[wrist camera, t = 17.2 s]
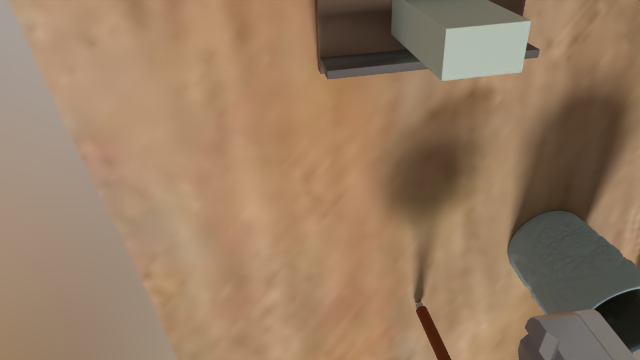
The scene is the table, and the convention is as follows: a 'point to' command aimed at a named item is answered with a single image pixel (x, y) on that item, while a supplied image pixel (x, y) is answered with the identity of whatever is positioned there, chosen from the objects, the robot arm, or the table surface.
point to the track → (370, 38)
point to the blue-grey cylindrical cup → (577, 272)
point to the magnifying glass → (432, 332)
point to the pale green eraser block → (461, 36)
